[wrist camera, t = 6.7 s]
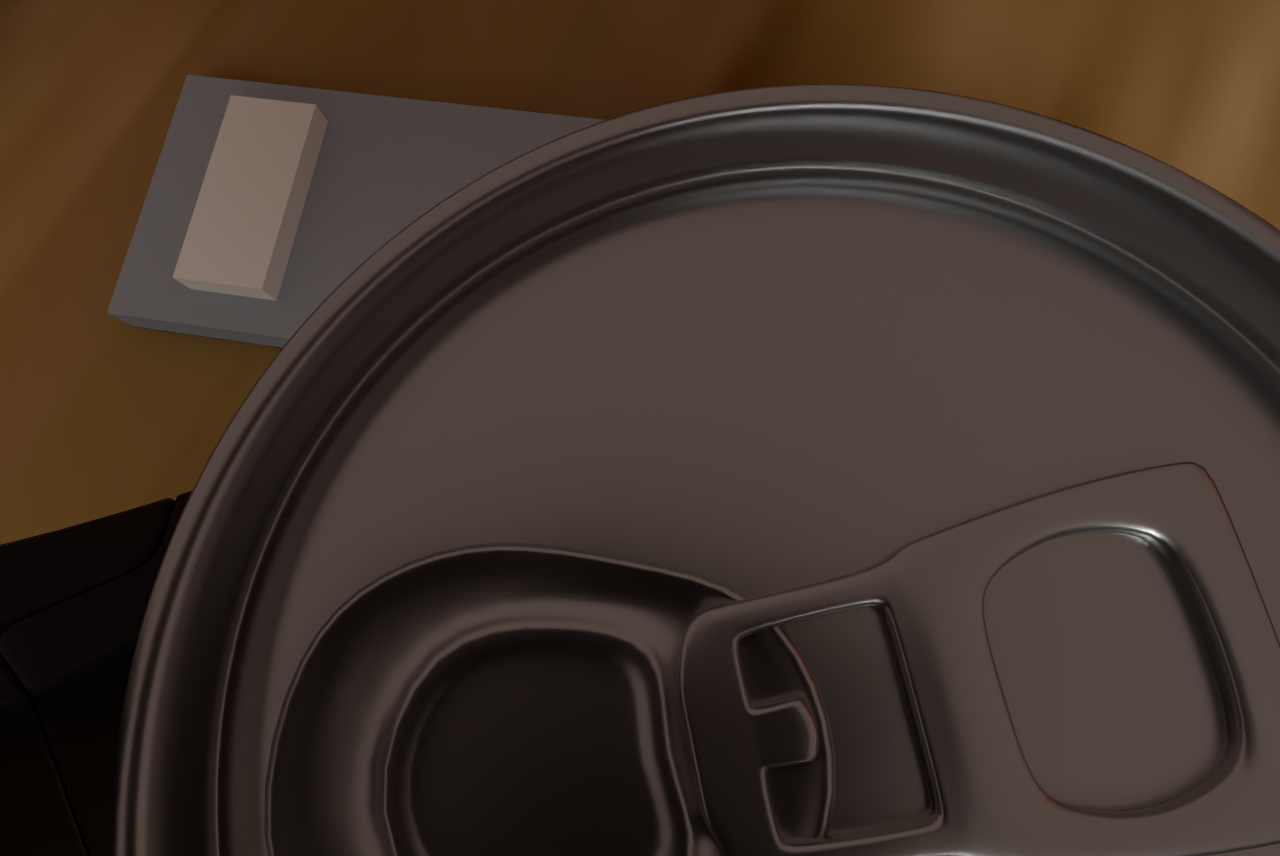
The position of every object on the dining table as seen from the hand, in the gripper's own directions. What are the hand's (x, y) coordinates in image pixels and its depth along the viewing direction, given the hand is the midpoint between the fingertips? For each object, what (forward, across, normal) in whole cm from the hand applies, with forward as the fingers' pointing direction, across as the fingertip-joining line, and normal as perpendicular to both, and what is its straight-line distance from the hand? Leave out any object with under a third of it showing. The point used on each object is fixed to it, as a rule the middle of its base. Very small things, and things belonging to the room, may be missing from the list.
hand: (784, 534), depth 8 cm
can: (+4, 0, +6) cm, 7 cm away
